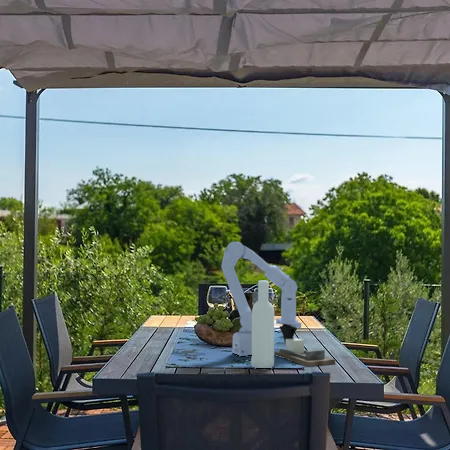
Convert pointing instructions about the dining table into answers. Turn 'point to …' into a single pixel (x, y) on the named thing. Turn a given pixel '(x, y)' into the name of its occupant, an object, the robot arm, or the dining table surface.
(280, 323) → the robot arm
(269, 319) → the bottle
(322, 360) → the rail board
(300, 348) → the pale grey cube
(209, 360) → the dining table surface
